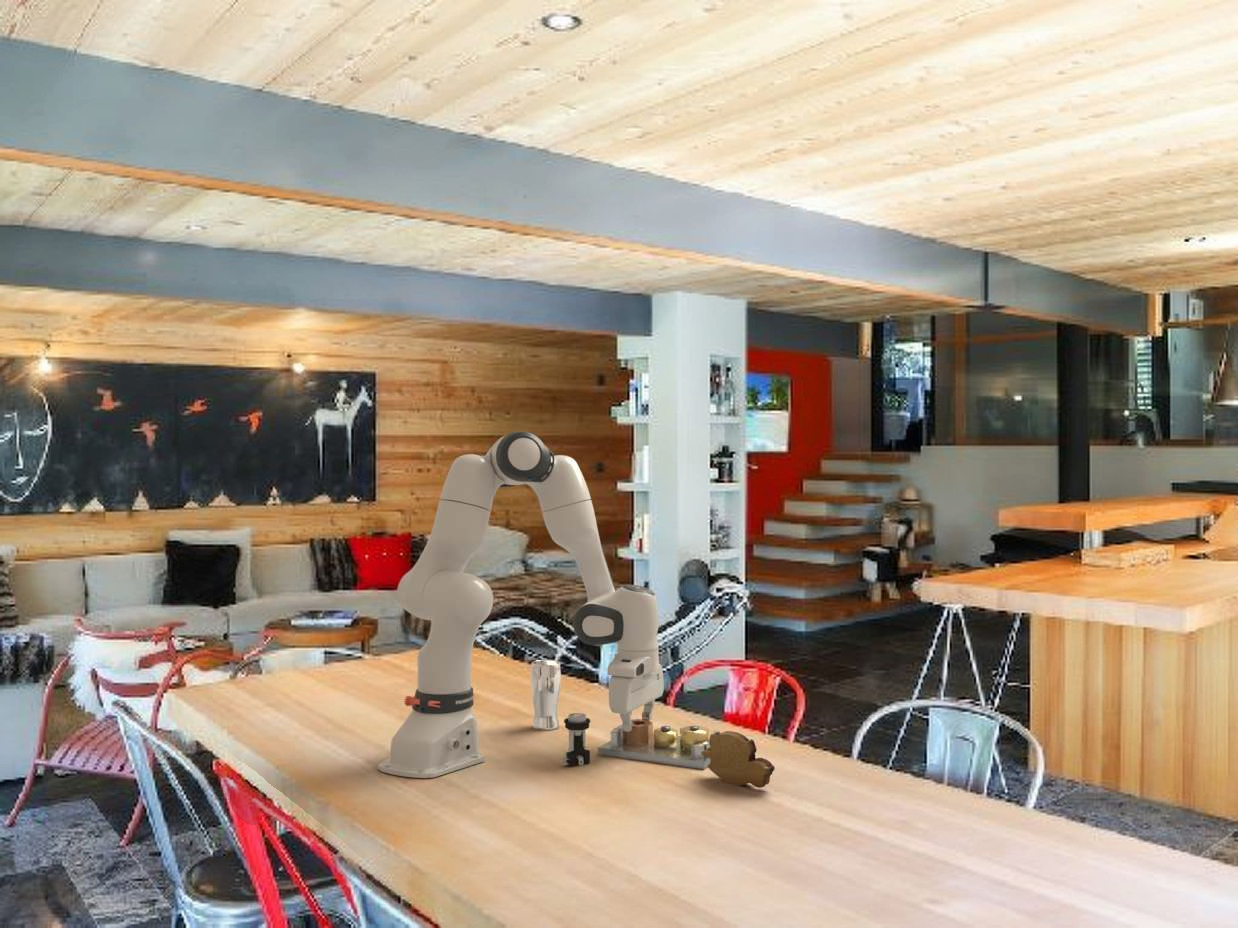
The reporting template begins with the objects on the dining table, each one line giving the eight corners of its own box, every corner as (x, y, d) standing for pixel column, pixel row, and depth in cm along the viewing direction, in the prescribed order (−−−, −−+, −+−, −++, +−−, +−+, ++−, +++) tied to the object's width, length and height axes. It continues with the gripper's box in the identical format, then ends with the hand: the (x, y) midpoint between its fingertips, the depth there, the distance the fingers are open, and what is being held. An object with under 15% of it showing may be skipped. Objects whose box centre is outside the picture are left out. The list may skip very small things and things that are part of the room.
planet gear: (644, 746, 232) (644, 727, 232) (619, 743, 235) (619, 724, 235) (656, 739, 238) (656, 720, 238) (630, 736, 240) (630, 718, 240)
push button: (568, 770, 220) (568, 720, 220) (553, 764, 225) (553, 715, 224) (595, 764, 224) (595, 715, 224) (580, 758, 229) (580, 710, 228)
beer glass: (563, 723, 257) (563, 659, 257) (558, 731, 250) (558, 665, 250) (533, 722, 258) (533, 659, 258) (528, 730, 251) (528, 665, 251)
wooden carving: (780, 789, 209) (780, 736, 208) (766, 795, 205) (766, 741, 205) (709, 772, 219) (709, 722, 219) (695, 777, 216) (695, 726, 216)
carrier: (704, 769, 221) (704, 739, 221) (598, 754, 232) (598, 725, 232) (732, 749, 235) (732, 721, 235) (630, 736, 246) (630, 708, 246)
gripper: (644, 651, 247) (644, 713, 247) (603, 668, 228) (603, 734, 229) (670, 654, 244) (670, 716, 244) (630, 671, 226) (630, 738, 226)
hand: (637, 725), depth 236 cm, fingers open, 8 cm apart
